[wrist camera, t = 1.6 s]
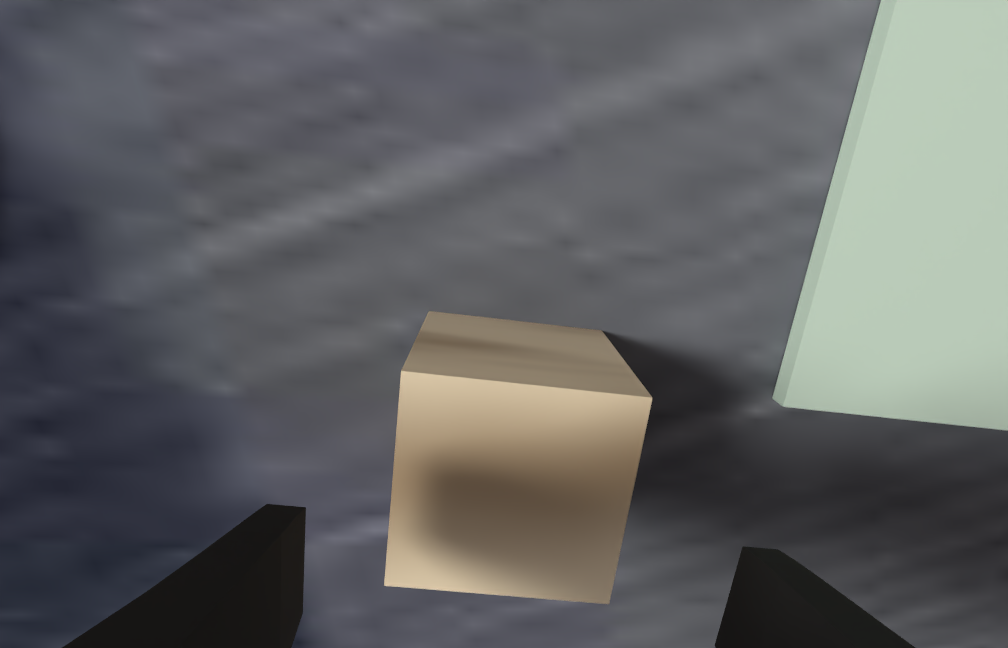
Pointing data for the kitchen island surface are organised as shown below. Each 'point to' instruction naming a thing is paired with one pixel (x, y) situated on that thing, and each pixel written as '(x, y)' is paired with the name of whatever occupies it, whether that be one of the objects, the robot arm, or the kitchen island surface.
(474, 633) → the kitchen island surface
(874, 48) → the mat
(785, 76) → the kitchen island surface
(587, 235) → the kitchen island surface
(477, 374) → the cube
